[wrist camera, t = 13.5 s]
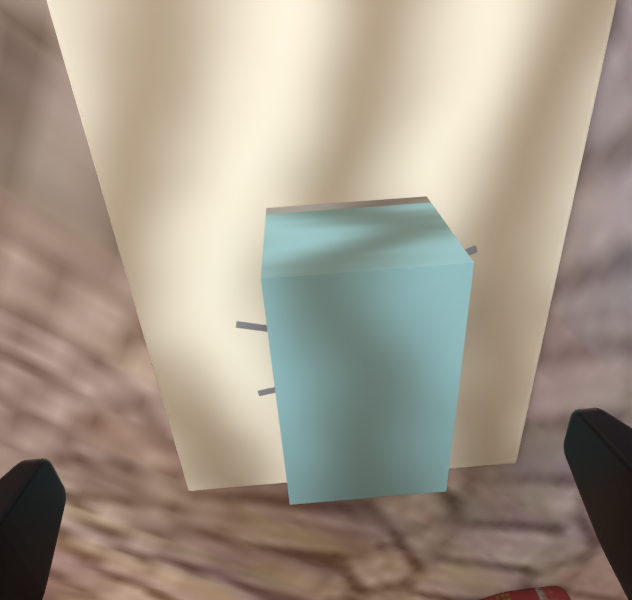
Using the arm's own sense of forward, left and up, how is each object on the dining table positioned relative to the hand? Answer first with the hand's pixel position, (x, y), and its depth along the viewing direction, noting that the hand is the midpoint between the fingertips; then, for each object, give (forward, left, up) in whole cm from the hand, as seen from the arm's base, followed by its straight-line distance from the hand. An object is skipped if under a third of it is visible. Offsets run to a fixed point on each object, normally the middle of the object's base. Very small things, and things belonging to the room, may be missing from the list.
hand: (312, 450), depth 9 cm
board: (-2, 0, -11) cm, 11 cm away
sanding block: (-2, +4, -10) cm, 11 cm away
